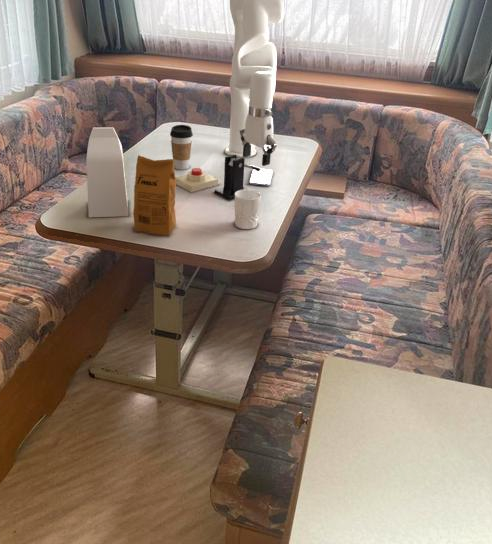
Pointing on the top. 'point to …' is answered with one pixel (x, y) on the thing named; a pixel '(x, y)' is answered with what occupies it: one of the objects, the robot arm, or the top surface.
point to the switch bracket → (232, 178)
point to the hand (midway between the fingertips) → (256, 160)
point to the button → (196, 171)
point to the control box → (196, 181)
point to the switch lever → (245, 165)
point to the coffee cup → (181, 146)
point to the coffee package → (154, 196)
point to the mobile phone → (261, 177)
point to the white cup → (247, 208)
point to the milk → (106, 174)
